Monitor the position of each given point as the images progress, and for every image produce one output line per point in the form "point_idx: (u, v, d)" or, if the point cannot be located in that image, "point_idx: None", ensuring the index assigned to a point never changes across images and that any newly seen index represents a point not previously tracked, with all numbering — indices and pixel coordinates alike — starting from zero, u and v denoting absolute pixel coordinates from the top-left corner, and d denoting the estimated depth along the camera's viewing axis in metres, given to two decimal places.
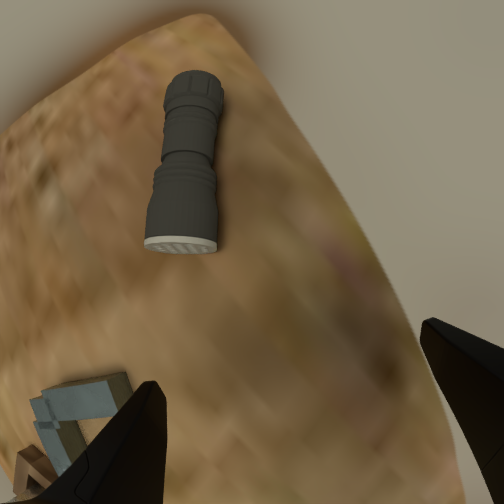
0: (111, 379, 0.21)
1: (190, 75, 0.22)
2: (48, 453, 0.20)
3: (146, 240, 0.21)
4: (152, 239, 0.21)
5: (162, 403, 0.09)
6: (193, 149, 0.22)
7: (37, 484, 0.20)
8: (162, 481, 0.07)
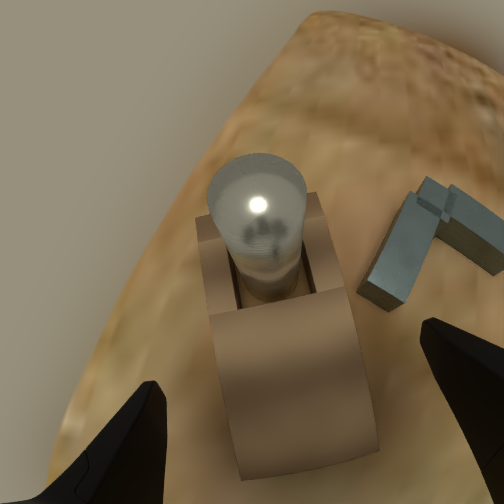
0: None
1: None
2: (398, 227, 0.20)
3: None
4: None
5: (162, 403, 0.09)
6: None
7: None
8: (162, 481, 0.07)
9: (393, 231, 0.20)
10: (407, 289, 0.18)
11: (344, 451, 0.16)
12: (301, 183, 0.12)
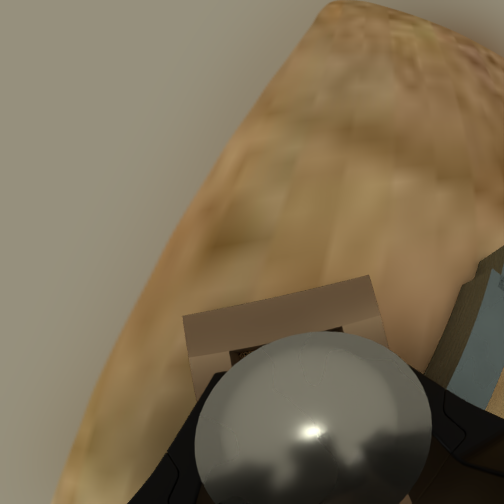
0: None
1: None
2: (477, 328, 0.12)
3: None
4: None
5: None
6: None
7: None
8: None
9: (471, 335, 0.12)
10: None
11: None
12: (422, 416, 0.04)
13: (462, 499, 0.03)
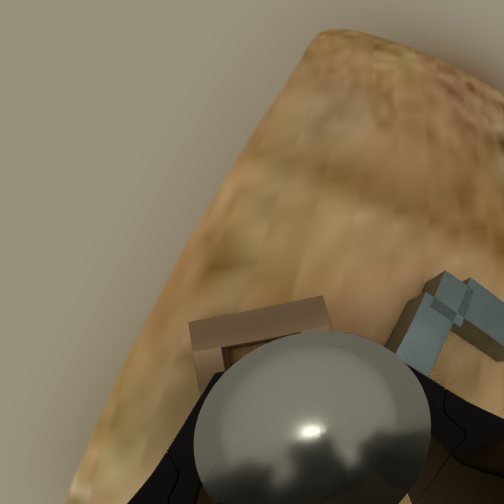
0: None
1: None
2: (408, 338, 0.18)
3: None
4: None
5: None
6: None
7: None
8: None
9: (402, 343, 0.18)
10: None
11: None
12: (422, 416, 0.04)
13: (462, 499, 0.03)
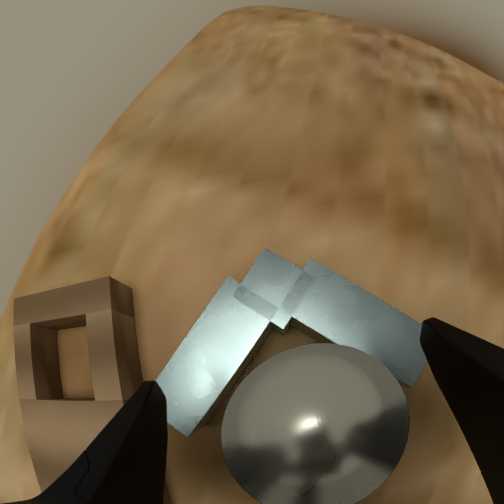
0: None
1: None
2: (193, 335, 0.15)
3: None
4: None
5: (162, 403, 0.09)
6: None
7: None
8: (162, 481, 0.07)
9: (185, 340, 0.15)
10: (192, 422, 0.13)
11: None
12: (401, 410, 0.05)
13: None
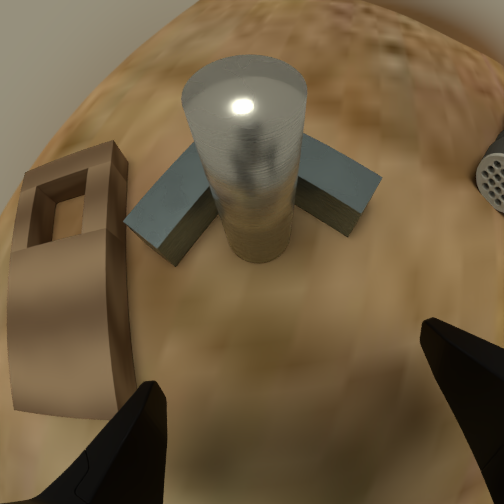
0: None
1: None
2: (175, 166, 0.18)
3: (499, 153, 0.16)
4: None
5: (162, 403, 0.09)
6: None
7: None
8: (162, 481, 0.07)
9: (168, 170, 0.18)
10: (164, 233, 0.17)
11: (84, 406, 0.14)
12: (300, 81, 0.09)
13: None
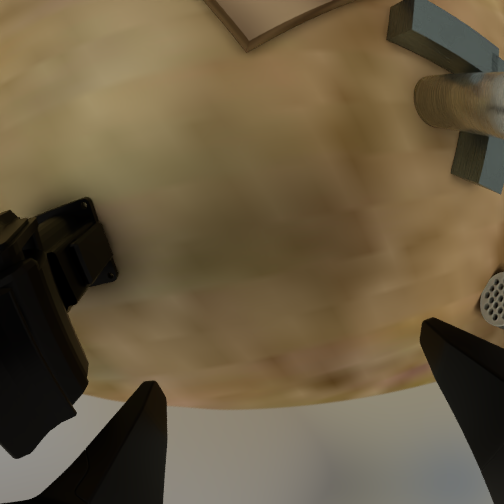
0: None
1: None
2: (467, 28, 0.12)
3: None
4: None
5: (162, 403, 0.09)
6: None
7: None
8: (162, 481, 0.07)
9: (462, 23, 0.12)
10: (423, 32, 0.13)
11: (236, 5, 0.13)
12: None
13: None
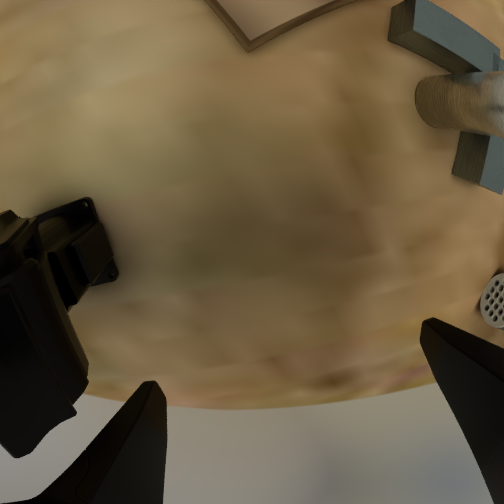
0: (494, 191, 0.18)
1: None
2: (469, 29, 0.12)
3: None
4: None
5: (162, 403, 0.09)
6: None
7: None
8: (162, 481, 0.07)
9: (464, 23, 0.12)
10: (424, 32, 0.13)
11: (237, 5, 0.13)
12: None
13: None
